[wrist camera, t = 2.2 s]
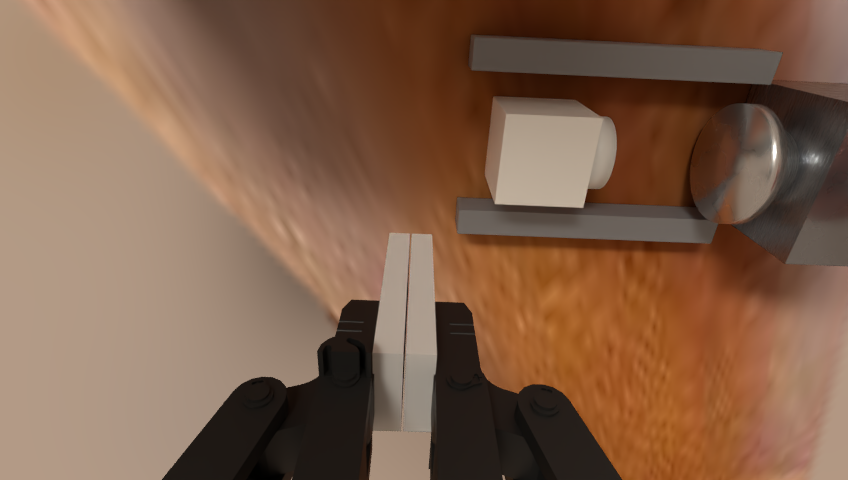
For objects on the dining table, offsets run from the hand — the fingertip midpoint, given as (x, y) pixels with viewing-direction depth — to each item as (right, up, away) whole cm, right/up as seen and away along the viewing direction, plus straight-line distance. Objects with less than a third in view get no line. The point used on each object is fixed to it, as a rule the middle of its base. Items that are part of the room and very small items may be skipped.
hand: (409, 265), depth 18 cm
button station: (+26, +8, +18) cm, 32 cm away
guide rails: (+13, +8, +17) cm, 24 cm away
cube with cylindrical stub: (+8, +9, +17) cm, 21 cm away
